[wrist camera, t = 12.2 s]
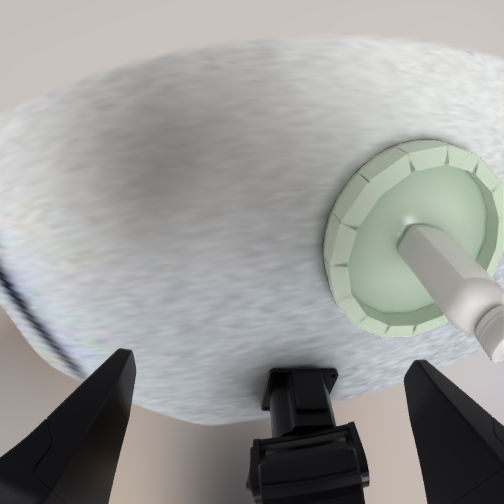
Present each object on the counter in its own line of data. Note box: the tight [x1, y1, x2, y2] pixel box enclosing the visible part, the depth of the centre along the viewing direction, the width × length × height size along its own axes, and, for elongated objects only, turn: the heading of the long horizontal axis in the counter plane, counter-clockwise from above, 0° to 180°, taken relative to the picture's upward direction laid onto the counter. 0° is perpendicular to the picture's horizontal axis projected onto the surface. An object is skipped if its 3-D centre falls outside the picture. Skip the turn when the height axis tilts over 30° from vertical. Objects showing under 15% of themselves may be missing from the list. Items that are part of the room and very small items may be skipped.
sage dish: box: [323, 140, 504, 337], centre depth 21 cm, size 15×15×2 cm
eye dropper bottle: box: [398, 225, 504, 362], centre depth 16 cm, size 4×6×12 cm
